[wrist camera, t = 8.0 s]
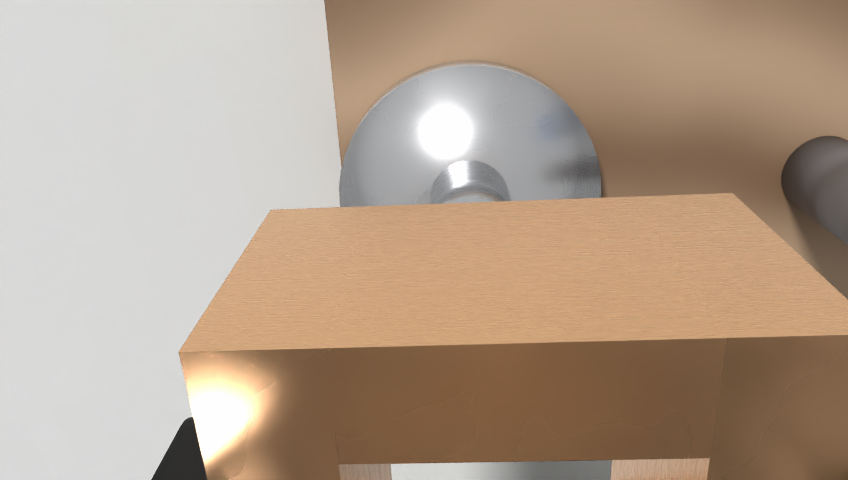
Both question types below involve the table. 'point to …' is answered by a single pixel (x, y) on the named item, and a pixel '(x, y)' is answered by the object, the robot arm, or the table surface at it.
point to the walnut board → (650, 92)
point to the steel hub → (468, 141)
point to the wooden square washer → (522, 343)
